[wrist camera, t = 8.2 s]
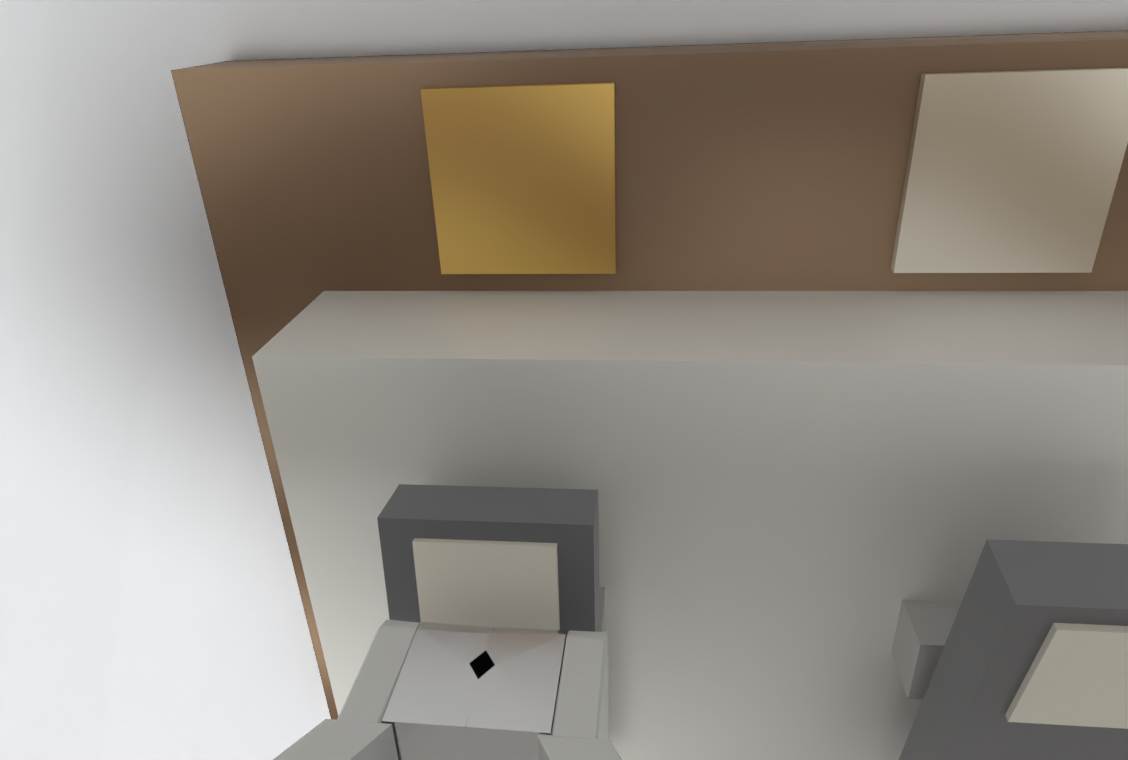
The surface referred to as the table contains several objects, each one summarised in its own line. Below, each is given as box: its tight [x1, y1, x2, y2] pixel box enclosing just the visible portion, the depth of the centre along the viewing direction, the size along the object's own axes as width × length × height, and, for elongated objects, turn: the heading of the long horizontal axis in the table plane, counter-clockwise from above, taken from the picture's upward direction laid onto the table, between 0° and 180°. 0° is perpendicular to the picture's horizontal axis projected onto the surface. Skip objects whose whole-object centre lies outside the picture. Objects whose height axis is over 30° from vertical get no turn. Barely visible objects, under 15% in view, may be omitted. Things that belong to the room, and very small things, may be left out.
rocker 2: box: [899, 540, 1128, 760], centre depth 11 cm, size 7×3×1 cm, turn 2°
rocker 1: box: [377, 484, 600, 632], centre depth 12 cm, size 7×3×1 cm, turn 2°
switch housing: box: [252, 291, 1128, 760], centre depth 14 cm, size 10×24×4 cm, turn 92°
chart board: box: [171, 31, 1128, 720], centre depth 17 cm, size 18×28×2 cm, turn 92°
